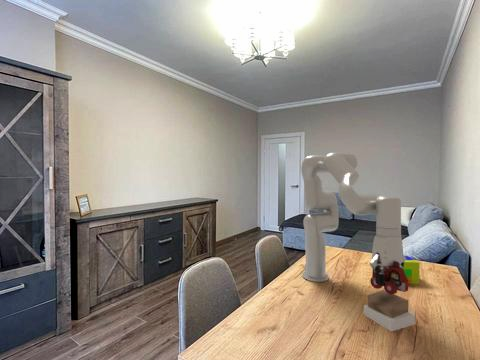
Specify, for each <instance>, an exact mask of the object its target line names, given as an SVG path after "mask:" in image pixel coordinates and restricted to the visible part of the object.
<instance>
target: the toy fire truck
mask: <svg viewBox="0 0 480 360" xmlns="http://www.w3.org/2000/svg"><path fill="white" fill-rule="evenodd" d="M380 264H382V263H380ZM379 269H381V266H379ZM393 270H395V271H393ZM383 274H384V275H385V286H381V285H378V284H376V282H375V272H374V270H373V269H372V276H371V278H370V279H369V282H370V284H371V287H373V288H374V289H376V290H378V289H381V288H383V290H384V291H386V292H387V293H388V294H391V295H393V294H394V295H396V294H397V293H398V291H399V292H403V293H406V292H408V291H409V284H408V279H407V277H406V274H405V272H404V270H403V268H401V267H400V264H399V262H397V261H395V262H394V264H393V266H387V267H385V270H384V273H383ZM391 277H392V278H391Z"/></svg>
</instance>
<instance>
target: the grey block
mask: <svg viewBox="0 0 480 360" xmlns="http://www.w3.org/2000/svg"><path fill="white" fill-rule="evenodd" d="M363 316H365V317H367V318H369V319H370V320H372V321H373V322H375V323H377V324H378V325H380V326H381V327H383V328H385V329H387V331H389V330H390V331H389V332H391V331H392V332H395V331H398V330H401V328H402V329H404V328H408V327H411V326H415V325H416V314H415V313H414V312H412V311H409V310H408V312H407V313H404V314H402V315H400V316H397V317H395V318H390V317H388V316H386V315H384V314H382V313H380V312H378V311H376V310H374V309H372V308H370V307H368V303H366V304H364V305H363ZM414 324H415V325H414Z"/></svg>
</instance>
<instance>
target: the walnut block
mask: <svg viewBox="0 0 480 360" xmlns="http://www.w3.org/2000/svg"><path fill="white" fill-rule="evenodd" d="M367 304H368V307H370V308H372V309H374V310H376V311H378V312H380V313H382V314H384V315H386V316H388V317H390V318H395V317H397V316H400V315H402V314H404V313H407V312H408V311H409V299H406V298H404V297H402V296H399V295H396V294H393V295H391V294H388V293H387V292H386V291H385V289H383V290H380V291H377V292H373V293H370V294H368V295H367Z"/></svg>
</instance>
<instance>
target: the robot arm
mask: <svg viewBox="0 0 480 360" xmlns="http://www.w3.org/2000/svg"><path fill="white" fill-rule="evenodd" d="M300 166H301V167H300V171H301V175H302V179H303V184H304V185H303V186H304V187H303V189H304V202H305V207H306V209H308V210H309V211H323V212H313V213H308V214H306V215H305V216H304V218H303V219H302V220H303V229H304V230H303V231H304V235H305V236H304V237H305V238H304V239H305V242H304V244H305V264H304V265H302V268H303V269H304V271H303V272H302V278H303V279H305V280H306V279H307V281H310V282H315V283H322V282H327V281H329V279H330V278H329V277H330V275H329V274H328V273H327V272H326V271H327V270H326V268H327V267H326V263H327V261H326V257H327V256H326V251H327V249H326V248H327V247H326V240H325V237H324V236H323V234H322V233H327V232H329V233H331V232H334V231H336V230H338V227H339V220H340V219H339V218H340V217H339V207H338V206H339V204H338V198H337V196H336V195H335V193H334V192H332V191H331V190H323V182H322V180H321V177H320V176H319V175H318V174H321V173H322V174H331V175H332V176H333V178H334V179H335V180H336V182H337V183H338V184H339V186H338V194H339V199H340V200H341V202H342V204H344V206H345V207H346V209H347V210H348V211H349V212H350V213H351V214H353V215H355V216H371V215H375V218H376V219H375V223H376V224H375V225H376V226H375V228H376V229H375V233H376V235H374V237H373V243H372V250H371V252H372V253H371V260H370V262H369V265H370V267H371V268H372V271H373V270H374V272H375V282H376V284H378V285H381V286H382V287H384V286H385V275H384V274H383V273H384V270H385V267H387V266H393V264H394V262H395V261H397V262H399V264H400V267H401V268H402V267H403V265H404V262H405V260H406V257H405V256H406V255H404V245H403V241H402V200H401V198H400V197H399V196H398V197H397V196H391V195H389V196H388V195H386V196H385V195H381V194H375V193H374V194H373V193H372V194H358V193H357V192H356V191H355V190H354V188H353V185H355V184H356V182H357V181H358V179H359V177H360V174H359V172H358V171H357V170H356V169H357V167H358V159H357V157H356V156H355V154H353V153H350V152H339V151H338V152H336V151H334V152H330V153H328V154H327V155H324V154H323V155H322V154H321V155H320V154H318V155H317V154H314V155H313V154H311V155H308V156H306V157H304V158H303V161H302V162H301V165H300ZM380 263H382V264H380ZM379 266H381V269H379ZM393 271H395V270H393Z"/></svg>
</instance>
